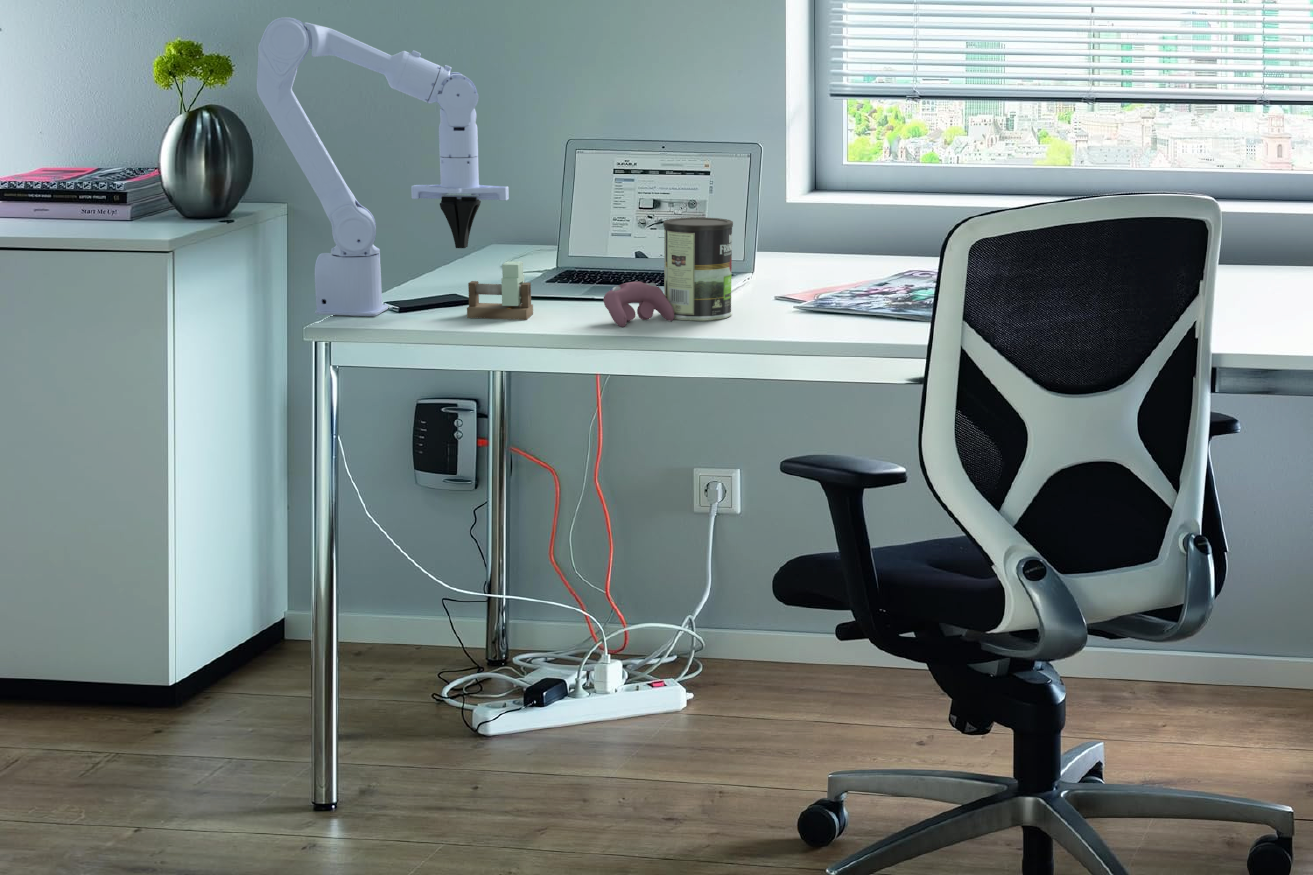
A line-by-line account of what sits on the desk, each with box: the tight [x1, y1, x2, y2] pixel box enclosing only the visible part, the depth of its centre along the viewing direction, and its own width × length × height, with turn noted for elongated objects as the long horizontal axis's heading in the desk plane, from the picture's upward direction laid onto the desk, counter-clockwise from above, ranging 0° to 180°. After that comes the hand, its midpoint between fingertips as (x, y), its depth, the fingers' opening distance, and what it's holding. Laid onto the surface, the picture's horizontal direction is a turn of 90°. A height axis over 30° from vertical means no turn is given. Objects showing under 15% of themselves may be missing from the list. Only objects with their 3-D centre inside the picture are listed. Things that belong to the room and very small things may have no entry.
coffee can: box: [662, 216, 734, 322], centre depth 231 cm, size 10×10×14 cm
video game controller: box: [603, 281, 675, 328], centre depth 227 cm, size 10×5×7 cm, turn 123°
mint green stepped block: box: [500, 261, 525, 306], centre depth 230 cm, size 2×4×6 cm, turn 172°
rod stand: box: [466, 280, 534, 321], centre depth 231 cm, size 9×4×5 cm, turn 82°
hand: (461, 247), depth 235 cm, fingers closed
